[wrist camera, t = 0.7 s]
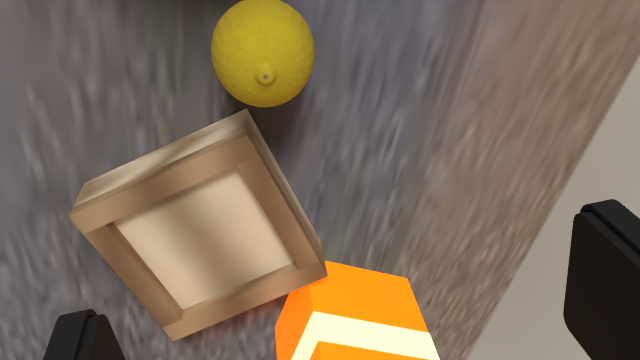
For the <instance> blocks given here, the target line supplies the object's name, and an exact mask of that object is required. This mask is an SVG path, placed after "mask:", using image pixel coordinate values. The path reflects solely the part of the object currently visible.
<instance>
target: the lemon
mask: <svg viewBox="0 0 640 360" xmlns="http://www.w3.org/2000/svg"><path fill="white" fill-rule="evenodd" d="M211 56H212V64H213V66H214V69H215V72H216V75H217V77H218V79H219V80H220V82H221V83H222V85H223V86H224V88H225V89H226V90H227V91H228V92H229V93H230V94H231V95H232V96H234V97H235V98H236V99H238V100H240V101H242V102H243V103H245V104H248V105H252V106H256V107H272V106H277V105H281V104H283V103H285V102H287V101H289V100H291V99H292V98H294V97H295V96H296V95H297V94H298V93H300V91H301V90H302V89H303V87H304V86H305V85H306V83H307V82H308V79H309V77H310V75H311V72H312V70H313V65H314V58H315V49H314V41H313V37H312V34H311V32H310V29H309V27H308V25H307V23H306V22H305V20H304V19H303V18H302V16H301V15H300V14H299V13H298V12H297V11H296V10H295V9H293V8H292V7H291V6H290V5H288V4H286V3H284V2H282V1H280V0H243V1H240V2H238V3H237V4H235V5H234V6H232V7H231V8H229V9H228V10H227V11H226V13H225V14H224V15H223V16H222V17H221V18H220V20H219V22H218V24H217V26H216V28H215V30H214V33H213V38H212V43H211Z"/></svg>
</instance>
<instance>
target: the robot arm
mask: <svg viewBox="0 0 640 360" xmlns="http://www.w3.org/2000/svg"><path fill="white" fill-rule="evenodd" d="M564 320H565V323H566V325H567V328H568V329H569V331H570V332H571V334H572V335H573V336H574V337H575V339H576V340H577V341H578V343H579V344H580V345H581V346H582V348H583V349H584V350H585V352H586V353H587V354H588V356H589V357H590V358H591V360H640V219H639V218H638V217H637V216H635V215H634V214H633V213H632V212H631V211H629V210H628V209H627V208H625V206H623V205H622V204H621V203H620V202H618V201H616V200H613V199H610V200H605V201H601V202H596V203H591V204H587V205H584V206H583V207H582V208H581V211H580V213H579V214H576V215H575V217H574V221H573V230H572V239H571V248H570V257H569V266H568V275H567V284H566V294H565V302H564ZM43 360H125V357H124V355H123V353H122V350H121V348H120V346H119V343H118V341H117V339H116V337H115V334H114V332H113V330H112V327H111V325H110V323H109V320H108V318H107V317H106V316H105V315H104V314H102V315H97V314H96V312H95V311H94V310H93V309H88V310H83V311H78V312H74V313H69V314H64V315H61V316H59V317H58V319H57V321H56V324H55V327H54V330H53V333H52V335H51V338H50V341H49V344H48V347H47V350H46V353H45V355H44V358H43Z"/></svg>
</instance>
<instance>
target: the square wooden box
mask: <svg viewBox="0 0 640 360" xmlns="http://www.w3.org/2000/svg"><path fill="white" fill-rule="evenodd" d="M68 217H69V218H70V219H71V220H72V221H73V223H74V224H75V225H76V226H77V227H78V228H79V230H80V231H81V232H82V233H83V234H84V236H85V237H86V238H87V239H88V240H89V242H90V243H91V244H92V245H93V246H94V247H95V249H96V250H97V251H98V252H99V253H100V255H101V256H102V257H103V258H104V259H105V261H106V262H107V263H108V264H109V265H110V266H111V268H112V269H113V270H114V271H115V272H116V274H117V275H118V276H119V277H120V278H121V280H122V281H123V282H124V283H125V284H126V285H127V287H128V288H129V289H130V290H131V291H132V293H133V294H134V295H135V296H136V297H137V299H138V300H139V301H140V302H141V303H142V304H143V306H144V307H145V308H146V309H147V310H148V312H149V313H150V314H151V315H152V316H153V318H154V319H155V320H156V321H157V322H158V323H159V325H160V326H161V327H162V328H163V329H164V331H165V332H166V333H167V334H168V335H169V337H170V338H171V339H172V340H173V341H176V340H178V339H180V338H183V337H185V336H187V335H190V334H192V333H195V332H197V331H199V330H202V329H204V328H207V327H209V326H211V325H214V324H216V323H218V322H221V321H223V320H226V319H228V318H230V317H233V316H235V315H237V314H240V313H242V312H245V311H247V310H249V309H252V308H254V307H257V306H259V305H261V304H264V303H266V302H268V301H271V300H273V299H276V298H278V297H280V296H283V295H285V294H287V293H290V292H292V291H295V290H297V289H299V288H302V287H304V286H307V285H309V284H311V283H314V282H316V281H318V280H321V279H323V278H326V277H328V274H327V269H326V264H325V259H324V254H323V249H322V245H321V241H320V239H319V238H318V236H317V234H316V232H315V230H314V228H313V227H312V225H311V223H310V221H309V219H308V218H307V216H306V214H305V212H304V210H303V209H302V207H301V205H300V203H299V201H298V200H297V198H296V196H295V194H294V192H293V191H292V189H291V187H290V185H289V183H288V182H287V180H286V178H285V176H284V174H283V173H282V171H281V169H280V167H279V165H278V164H277V162H276V160H275V158H274V156H273V155H272V153H271V151H270V149H269V147H268V145H267V144H266V142H265V140H264V138H263V136H262V135H261V133H260V131H259V129H258V127H257V126H256V124H255V122H254V120H253V118H252V117H251V115H250V113H249V111H248V109H247V108H246V109H244V110H241V111H239V112H237V113H235V114H233V115H231V116H228V117H226V118H224V119H222V120H220V121H218V122H215V123H213V124H211V125H209V126H207V127H205V128H202V129H200V130H198V131H196V132H194V133H192V134H189V135H187V136H185V137H183V138H181V139H179V140H176V141H174V142H172V143H170V144H168V145H166V146H163V147H161V148H159V149H157V150H155V151H153V152H151V153H148V154H146V155H144V156H142V157H140V158H138V159H135V160H133V161H131V162H129V163H127V164H125V165H122V166H120V167H118V168H116V169H114V170H112V171H109V172H107V173H105V174H103V175H101V176H99V177H96V178H94V179H92V180H90V181H88V182H86V183H84V185H83V187H82V189H81V191H80V193H79V195H78V197H77V200H76V202H75V204H74V206H73V208H72V210H71V212H70V214H69V216H68Z"/></svg>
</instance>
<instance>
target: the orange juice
mask: <svg viewBox="0 0 640 360" xmlns="http://www.w3.org/2000/svg"><path fill="white" fill-rule="evenodd" d="M325 264H326V269H327V274H328V277H326V278H323V279H321V280H318V281H316V282H314V283H311V284H309V285H307V286H304V287H302V288H299V289H297V290H295V291H292V292H290V293H289V295H288V298H287V300H286V303H285V305H284V307H283V310H282V312H281V314H280V317H279V319H278V321H277V324H276V326H275V335H276V349H277V360H440V359H439V357H438V354H437V351H436V349H435V346H434V344H433V341H432V339H431V336H430V334H429V333H428V331H427V328H426V326H425V323H424V320H423V318H422V315H421V313H420V310H419V308H418V305H417V302H416V300H415V297H414V295H413V292H412V290H411V287H410V285H409V282H408V279H407V278H403V277H398V276H394V275H389V274H384V273H380V272H375V271H370V270H366V269H361V268H356V267H352V266H347V265H342V264H338V263H333V262H328V261H325Z"/></svg>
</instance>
